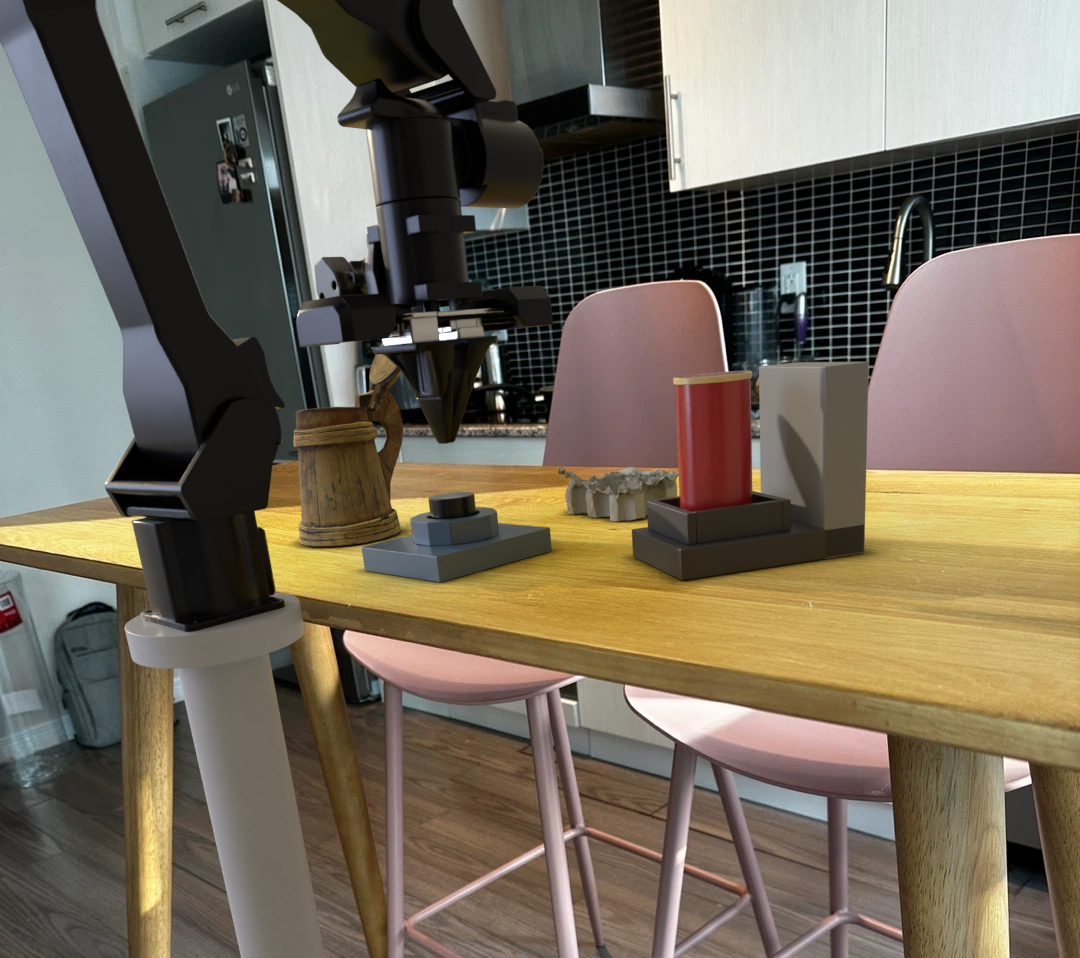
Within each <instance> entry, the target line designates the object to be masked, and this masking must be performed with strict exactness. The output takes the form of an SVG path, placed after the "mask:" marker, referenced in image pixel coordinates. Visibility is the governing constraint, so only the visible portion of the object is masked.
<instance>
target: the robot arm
mask: <svg viewBox="0 0 1080 958" xmlns="http://www.w3.org/2000/svg"><path fill="white" fill-rule="evenodd" d="M276 1H277V2H279V3H280V4H281V5H283V6H284V7H285V8H287V9H288V10H290V11H292V13H294V14H295V15H297V16H298V17H299V18H300V20H302V21H303V22H304V23H305V25H307V26H308V27H309V29H310V30H311V32H312V34H313V36H314V38H315V41H316V43H317V45H318V47H319V50H320V51H321V53H322V55H323V57H324V58H325V59H326V60H327V61H328V62H329V63H330V64H331V65H332V66H333V67H334V68H335V69H336V70H338V72H339V73H341V75H343V77H345V78H346V80H348V81H349V82H350V83H351V84H352V85H353V86H354V87H355V90H354V93H353V95H352V97H351V99H350V100H349V102H348V103H347V104H346V105H345V106H344V107H343V108H342V110H341V111H340V112H339V113H338V115H337V117H336V119H337V120H336V121H337V123H338V125H339V126H341V127H343V128H349V129H350V128H351V129H359V130H360V129H362V130H365V134H366V141H367V142H366V143H367V150H368V157H369V165H370V172H371V180H372V188H373V196H374V203H375V212H376V219H377V224H373V225H371V226H367V227H366V232H367V233H366V235H365V241H366V242H365V243H366V255H365V256H366V257H364V258H363V259H360V260H350V261H348V260H347V259H346V257H344V256H322V257H320V259H319V260H318V261H317V262H316V263H315V264H314V265H313V269H314V279H315V281H314V282H315V290H316V295H317V297H318V298H317V299H312V300H306V301H302V303H301V305H300V307H299V310H298V314H297V317H296V320H295V325H296V331H297V332H296V333H297V339H298V344H299V348H307V347H319V346H322V347H323V346H333V345H340V344H342V343H351V342H364V341H377V340H381V344H382V345H383V346H380V345H379V346H372V347H370V349H371V350H372V353H373V354H374V356H375V355H377V354H382V355H384V356H386V357H387V358H388V359H389V360H390V361H391V362H392V363H394V364H395V365H396V366H397V367H398V368H399V369H400V370H401V371H402V373H401V374H402V375H403V376H404V378H405V380H406V382H407V384H408V385H409V387H410V388H411V390H412V392H413V393H414V396H415V398H416V400H417V402H418V404H419V406H420V408H421V410H422V413H423V415H424V417H425V419H426V421H427V423H428V425H429V427H430V430H431V432H432V434H433V436H434V438H435V440H436V443H438V444H440V445H441V444H442V445H446V444H453V443H455V441H456V439H457V436H458V433H459V430H460V427H461V424H462V421H463V417H464V415H465V411H466V409H467V405H468V402H469V399H470V396H471V393H472V390H473V387H474V384H475V381H476V378H477V376H478V373H479V372H480V370H481V367H482V364H483V362H484V359H485V357H486V355H487V352H488V350H489V347H490V346H491V344H498V335H487V336H486V335H485V332H497V331H507V330H518V329H524V328H535V327H536V328H537V327H545V326H553V325H554V319H553V309H552V307H553V306H552V298H551V296H550V295H549V294H548V292H546V290H545V289H544V287H543V286H542V285H529V286H528V285H527V286H506V287H500V288H495V289H488V290H487V289H486V290H483V286H482V281H480V280H478V281H470V278H469V277H470V276H469V269H468V260H467V250H466V241H465V240H466V238H465V235H467V234H472V233H476V232H477V227H476V226H477V225H476V216H475V215H474V214H463V210H462V207H464V208H465V207H466V208H488V209H489V208H490V209H513V210H515V209H520V208H522V207H524V206H526V205H528V204H529V203H530V202H531V201H532V200H533V199H534V197H535V195H536V194H537V192H538V191H539V188H540V185H541V183H542V181H543V175H544V163H545V162H544V160H545V159H544V158H545V157H544V152H543V149H542V148H541V147H540V144H539V140H538V138H537V136H536V135H535V133H534V131H533V130H532V129H531V127H530V126H529V125H527V124H526V123H525V122H523V121H521V120H519V118H518V117H519V116H518V107H517V103H516V101H514V100H508V99H501V100H498V101H493V100H496V98H497V89H496V87H495V85H494V83H493V81H492V79H491V77H490V75H489V73H488V72H487V69H486V67H485V66H484V63H483V62H482V59H481V57H480V55H479V53H478V51H477V49H476V47H475V46H474V45H475V44H474V43H473V41H472V39H471V37H470V35H469V33H468V31H467V29H466V27H465V25H464V23H463V21H462V19H461V16H460V15H459V13H458V11H457V9H456V7H455V5H454V0H276ZM0 45H1V47H2V48H3V51H4V54H5V56H6V58H7V60H8V63H9V65H10V68H11V70H12V73H13V75H14V77H15V79H16V82H17V84H18V87H19V89H20V92H21V95H22V97H23V100H24V102H25V104H26V106H27V108H28V111H29V113H30V116H31V118H32V120H33V123H34V125H35V128H36V130H37V132H38V135H39V137H40V140H41V143H42V144H43V147H44V150H45V152H46V154H47V156H48V159H49V162H50V163H51V164H50V165H51V166H52V168H53V171H54V173H55V176H56V178H57V181H58V184H59V185H60V188H61V191H62V192H63V196H64V197H65V200H66V202H67V204H68V207H69V209H70V212H71V215H72V217H73V219H74V221H75V224H76V226H77V229H78V232H79V233H80V236H81V238H82V240H83V243H84V245H85V248H86V250H87V253H88V256H89V258H90V260H91V262H92V266H93V267H94V269H95V272H96V275H97V276H98V279H99V281H100V284H101V287H102V289H103V291H104V294H105V297H106V298H107V301H108V303H109V305H110V308H111V310H112V313H113V315H114V318H115V320H116V323H117V325H118V327H119V330H120V333H121V337H122V344H123V345H122V347H123V349H122V350H123V351H122V352H123V353H122V394H123V398H124V402H125V405H126V410H127V413H128V417H129V422H130V424H131V429H132V432H133V438H132V440H131V441H130V442H129V445H127V448H126V449H125V451H124V452H123V454H122V456H121V458H120V459H119V461H118V462H117V464H116V465H115V467H114V468H113V470H112V472H111V473H110V474H109V477H108V478H107V480H106V482H105V483H104V489H105V492H106V493H107V495H108V497H109V498H110V500H111V502H112V503H113V505H114V506H115V509H116V510H117V511H118V513H119V515H120V516H121V517H124V518H132V517H141V518H137V519H133V520H131V524H132V530H133V533H134V538H135V541H136V546H137V550H138V555H139V559H140V564H141V568H142V573H143V574H142V575H143V577H144V581H145V587H146V591H147V595H148V599H149V604H150V609H147V610H146V609H145V610H142V611H141V612H140V615H141V616H142V619H143V620H145V621H149V622H152V623H156V624H159V625H163V626H166V627H170V628H173V629H177V630H180V631H183V632H194V631H198V630H202V629H205V628H209V627H213V626H217V625H220V624H224V623H228V622H232V621H235V620H239V619H243V618H247V617H250V616H254V615H258V614H262V613H265V612H269V611H273V610H277V609H280V608H284V607H285V602H284V599H281V598H276V597H271V595H274V594H275V592H276V591H277V590H276V589H277V588H276V583H275V578H274V573H273V567H272V561H271V556H270V551H269V546H268V545H269V544H268V539H267V534H266V530H265V529H264V528H263V527H261V526H258V522H257V518H256V512H258V511H262V510H265V509H267V508H268V505H269V498H270V491H271V489H270V488H271V481H272V473H273V465H274V461H275V459H276V456H277V452H278V450H279V446H281V445H282V443H283V427H282V423H281V419H280V415H279V412H278V410H277V409H284V408H285V406H286V404H285V402H284V400H283V398H281V396H280V395H279V394H278V393H277V391H276V389H275V387H274V385H273V382H272V380H271V377H270V373H269V370H268V365H267V360H266V356H265V352H264V349H263V347H262V346H261V343H260V341H259V339H258V338H257V337H255V336H248V337H240V338H231V337H230V336H229V335H228V333H227V332H226V331H225V330H224V329H223V328H222V326H221V325H219V323H218V322H217V321H216V320H215V319H214V318H213V316H212V315H211V313H210V312H209V310H208V308H207V305H206V302H205V300H204V297H203V294H202V292H201V289H200V287H199V284H198V281H197V279H196V276H195V274H194V271H193V267H192V266H191V265H192V264H191V262H190V260H189V257H188V254H187V252H186V249H185V246H184V243H183V240H182V238H181V236H180V233H179V230H178V227H177V225H176V222H175V220H174V217H173V214H172V212H171V208H170V206H169V203H168V201H167V198H166V195H165V192H164V190H163V188H162V184H161V182H160V178H159V177H158V174H157V172H156V169H155V166H154V163H153V160H152V158H151V155H150V153H149V150H148V147H147V144H146V142H145V139H144V137H143V133H142V130H141V128H140V125H139V123H138V120H137V117H136V114H135V112H134V110H133V107H132V104H131V101H130V98H129V96H128V93H127V89H126V88H125V85H124V82H123V79H122V77H121V75H120V74H121V73H120V72H119V69H118V67H117V63H116V61H115V58H114V55H113V53H112V50H111V47H110V45H109V42H108V39H107V37H106V34H105V31H104V30H103V26H102V23H101V20H100V16H99V12H98V6H97V0H0ZM447 76H448V77H450V78H451V79H450V80H447V81H443V82H440V83H437V84H434V85H431V86H428V87H425V88H423V89H420V90H416V91H413V92H412V91H411V90H412V89H414V88H418V87H421V86H424V85H426V84H430V83H434V82H436V81H439V80H441V79H443V78H445V77H447ZM414 308H421V312H412V311H413V309H414ZM440 308H448V310H443V311H442V310H441V311H440Z"/></svg>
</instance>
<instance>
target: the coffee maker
mask: <svg viewBox="0 0 1080 958" xmlns="http://www.w3.org/2000/svg"><path fill="white" fill-rule="evenodd" d="M869 364H870V363H869V361H813V362H812V361H803V362H802V361H799V362H797V361H796V362H790V363H789V362H788V363H777V364H769V365H760V366H759V367H758V384H759V386H758V388H759V395H758V397H759V464H760V465H759V466H760V467H759V468H760V469H759V470H760V471H759V472H760V473H759V474H760V475H759V476H760V491H755V490H752V498H753V503H752V504H745V505H737V506H730V507H723V508H715V509H708V510H701V511H693V512H691V511H688V510H684V509H681V508H680V496H679V495H677V497H670V498H662V499H655V500H647V515H646V516H647V518H646V519H647V526H645V527H639V528H633V529H631V544H632V557H633V558H635V559H636V560H639V561H641V562H643V563H645V564H647V565H649V566H652V567H654V568H655V569H658V570H660V571H662V572H664V573H666V574H668V575H670V576H672V577H673V578H676V579H678V580H681V581H689V580H695V579H702V578H709V577H715V576H722V575H727V574H735V573H743V572H747V571H754V570H755V571H756V570H761V569H768V568H774V567H781V566H786V565H787V566H788V565H794V564H801V563H807V562H814V561H820V560H821V561H822V560H828V559H834V558H841V557H848V556H853V555H860V554H864V553H865V547H866V546H865V543H866V542H865V541H866V540H865V539H866V535H865V534H866V501H867V500H866V498H867V497H866V495H867V493H866V492H867V455H868V454H867V452H868V408H869V407H868V406H869V366H870V365H869Z"/></svg>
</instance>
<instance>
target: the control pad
mask: <svg viewBox="0 0 1080 958" xmlns="http://www.w3.org/2000/svg"><path fill="white" fill-rule="evenodd" d="M476 514H477V515H473V516H468V517H463V518H455V519H438V520H436V519H431V516H430V511H427V512H423V513H419V514H416V515H414V516H412V517H410V518H409V520H410V521H409V522H410V529H411V535H405V536H403V537H398V538H394V539H390V540H386V541H381V542H376V543H373V544H368V545H364V546H361V554H362V555H361V556H362V559H363V561H362V562H363V567H364V571H366V572H372V573H377V574H384V575H389V576H390V575H392V576H397V577H404V578H410V579H417V580H422V581H423V580H424V581H430V582H437V583H443V582H446V581H451V580H453V579H456V578H461V577H464V576H468V575H471V574H474V573H479V572H482V571H485V570H490V569H492V568H496V567H500V566H503V565H504V566H505V565H507V564H511V563H514V562H518V561H522V560H524V559H529V558H531V557H532V558H533V557H535V556H539V555H542V554H546V553H551V552H553V547H552V546H553V545H552V535H551V527H549V526H548V527H547V526H537V525H524V524H513V523H503V522H499V517H498V510H496V509H495V508H493V507H488V506H487V507H485V506H476Z"/></svg>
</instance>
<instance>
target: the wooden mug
mask: <svg viewBox="0 0 1080 958" xmlns="http://www.w3.org/2000/svg"><path fill="white" fill-rule="evenodd" d="M379 346H383V345H382V343H381V344H380V345H379ZM401 374H403V373H402V371H401V370H400V369H399V368H398V367H397V366H396V365H395V364H394V363H392V362H391V361H390V360H389V359H388V358H387V357H386V356H384V355H382V354H377V355H375V354H374V358H373V360H372V363H371V365H370V370H369V374H368V375H369V377H368V379H369V389H368V392H364V393H360V394H357V395H355V399H354V406H328V407H315V408H307V409H299V410H296V411H295V424H296V428H295V429H294V430H293V447H294V448H295V449H297V455H298V457H297V458H298V473H299V495H300V512H301V513H300V517H301V519H300V521H299V522H298V543H300V544H302V545H304V546H308V547H325V548H327V547H344V546H351V545H358V544H365V543H370V542H375V541H380V540H385V539H388V538H391V537H393V536H395V535H397V534H399V532H401V528H402V527H401V524H400V519H399V515H398V511H397V510H396V509H395V508H393V507H392V502H391V482H392V478H393V475H394V471H395V468H396V465H397V463H398V462H397V461H398V459H399V457H400V452H401V449H402V444H403V437H404V424H403V418H402V413H401V410H400V408H399V405H398V403H397V401H396V399H395V398H394V396H393V395H392V393H391V391H390V389H391V388H392V386H393V385H394V384H395V383H396V382H397V380H398V379H399V377H400V376H401ZM373 422H376V423H377V422H378V423H379V424H380V425H381V427H383V429H384V433H385V441H384V443H383V446H382V448H381V449H380V450H379V451H378V449H377V445H376V438H377V437H378V431H377V429H376V428H375V425H374V424H373Z"/></svg>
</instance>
